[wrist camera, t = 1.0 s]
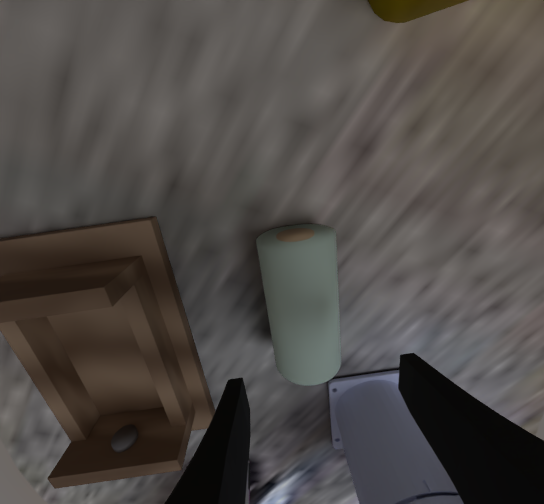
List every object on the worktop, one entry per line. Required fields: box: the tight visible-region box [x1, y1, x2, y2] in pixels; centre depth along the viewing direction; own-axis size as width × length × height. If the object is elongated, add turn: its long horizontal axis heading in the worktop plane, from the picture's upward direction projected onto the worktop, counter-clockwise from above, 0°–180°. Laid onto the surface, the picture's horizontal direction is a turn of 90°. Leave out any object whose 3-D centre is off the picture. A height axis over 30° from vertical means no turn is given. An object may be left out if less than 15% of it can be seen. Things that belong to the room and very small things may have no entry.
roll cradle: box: [0, 217, 215, 488], centre depth 18 cm, size 20×12×6 cm, turn 8°
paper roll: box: [256, 224, 341, 386], centre depth 18 cm, size 10×5×5 cm, turn 8°
